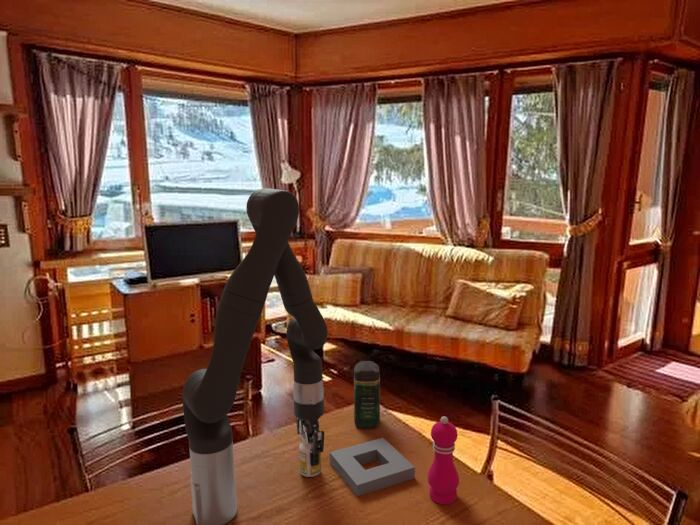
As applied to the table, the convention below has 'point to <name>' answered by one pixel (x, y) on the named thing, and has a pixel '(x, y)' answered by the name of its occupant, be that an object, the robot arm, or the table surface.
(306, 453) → the supplement bottle
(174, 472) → the table surface
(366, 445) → the socket block
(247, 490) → the table surface
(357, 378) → the coffee jar
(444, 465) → the pepper mill
